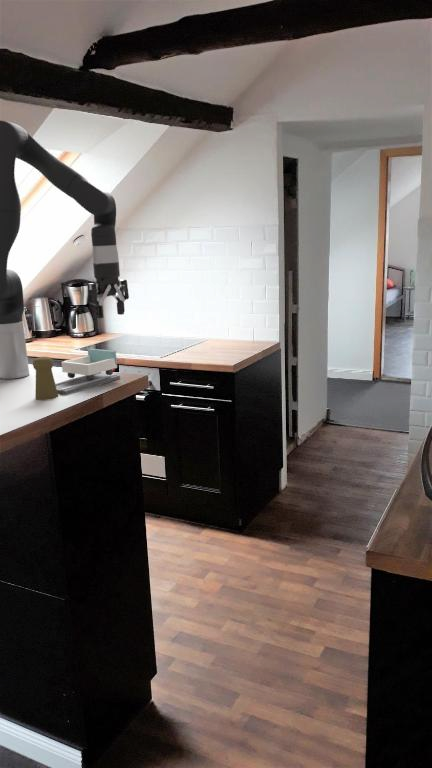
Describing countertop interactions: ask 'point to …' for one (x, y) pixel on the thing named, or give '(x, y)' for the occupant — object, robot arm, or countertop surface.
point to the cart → (91, 364)
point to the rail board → (83, 383)
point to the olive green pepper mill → (44, 379)
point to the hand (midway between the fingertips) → (110, 316)
